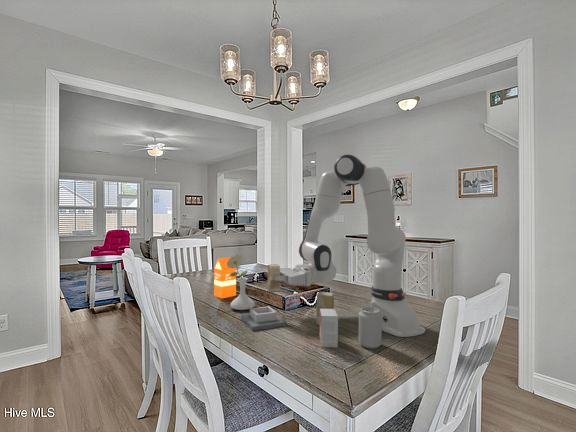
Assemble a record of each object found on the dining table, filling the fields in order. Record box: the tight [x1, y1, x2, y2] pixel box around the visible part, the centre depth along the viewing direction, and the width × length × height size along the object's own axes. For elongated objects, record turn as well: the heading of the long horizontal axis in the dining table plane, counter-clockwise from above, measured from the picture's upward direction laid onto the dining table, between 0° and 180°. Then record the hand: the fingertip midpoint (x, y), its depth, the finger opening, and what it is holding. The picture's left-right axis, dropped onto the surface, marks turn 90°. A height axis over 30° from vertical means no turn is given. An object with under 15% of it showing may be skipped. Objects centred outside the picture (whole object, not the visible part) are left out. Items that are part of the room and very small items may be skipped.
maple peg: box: [267, 263, 281, 294], centre depth 132 cm, size 4×4×11 cm
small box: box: [318, 308, 339, 348], centre depth 107 cm, size 8×6×10 cm
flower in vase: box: [227, 254, 256, 311], centre depth 144 cm, size 13×11×25 cm
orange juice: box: [213, 256, 237, 299], centre depth 166 cm, size 8×9×20 cm
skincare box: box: [315, 291, 335, 326], centre depth 125 cm, size 6×4×12 cm
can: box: [358, 306, 383, 350], centre depth 105 cm, size 8×8×12 cm
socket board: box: [240, 305, 288, 332], centre depth 127 cm, size 16×14×4 cm
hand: (271, 277), depth 132 cm, fingers closed on maple peg, 4 cm apart
